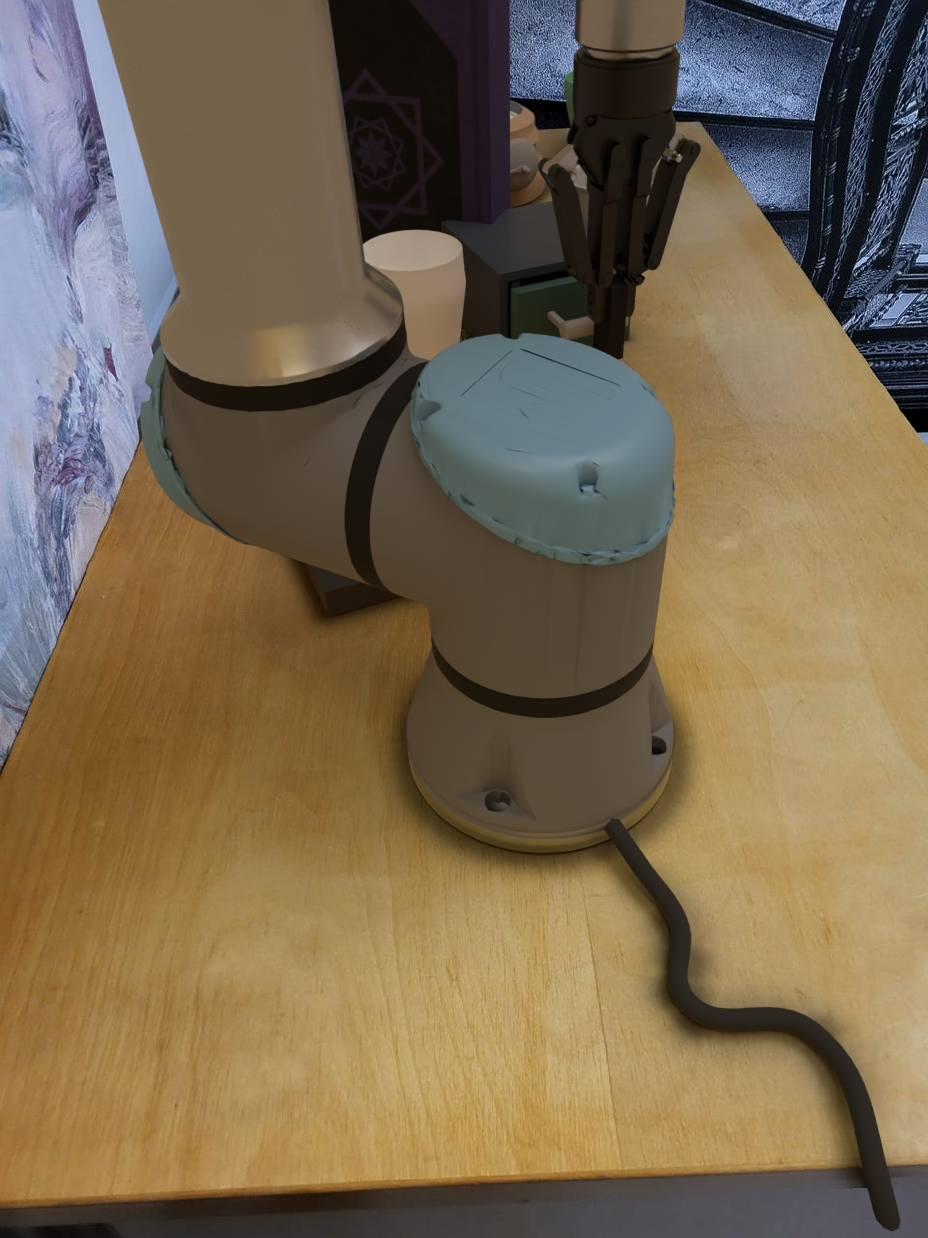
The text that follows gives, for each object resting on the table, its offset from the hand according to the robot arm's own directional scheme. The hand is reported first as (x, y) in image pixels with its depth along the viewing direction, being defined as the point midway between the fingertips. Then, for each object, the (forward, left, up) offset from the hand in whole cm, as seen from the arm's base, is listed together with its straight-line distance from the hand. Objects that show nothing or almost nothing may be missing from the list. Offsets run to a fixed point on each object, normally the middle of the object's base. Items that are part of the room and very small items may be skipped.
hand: (607, 353), depth 87 cm
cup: (+9, +14, -4) cm, 17 cm away
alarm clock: (+50, -9, -4) cm, 51 cm away
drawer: (+10, 0, -3) cm, 10 cm away
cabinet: (+15, 0, -4) cm, 15 cm away
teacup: (+30, -18, -4) cm, 35 cm away
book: (+29, +9, -4) cm, 31 cm away
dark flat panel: (-13, +26, -4) cm, 29 cm away
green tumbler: (+58, -30, -4) cm, 65 cm away
